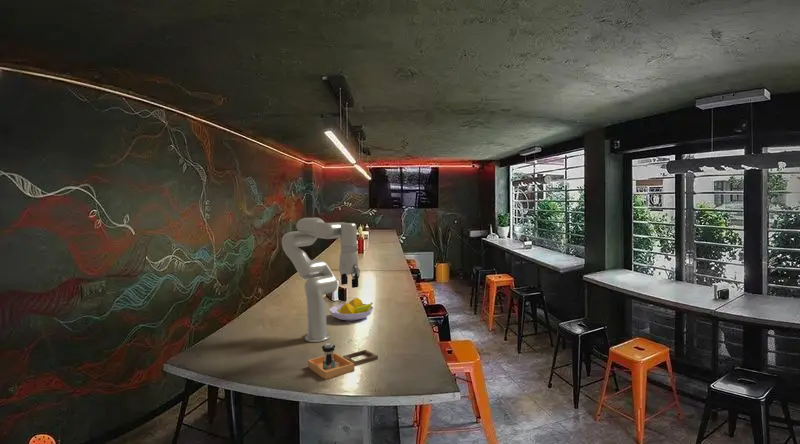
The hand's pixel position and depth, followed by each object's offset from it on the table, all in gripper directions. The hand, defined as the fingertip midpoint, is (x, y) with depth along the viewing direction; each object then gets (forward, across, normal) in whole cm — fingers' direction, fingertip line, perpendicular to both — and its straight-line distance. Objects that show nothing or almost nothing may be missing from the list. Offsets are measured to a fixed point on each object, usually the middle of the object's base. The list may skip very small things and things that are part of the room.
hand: (349, 285), depth 183 cm
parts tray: (+30, +14, -18) cm, 38 cm away
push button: (+30, +14, -18) cm, 38 cm away
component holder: (+30, +13, -3) cm, 33 cm away
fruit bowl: (+31, -45, +28) cm, 61 cm away
